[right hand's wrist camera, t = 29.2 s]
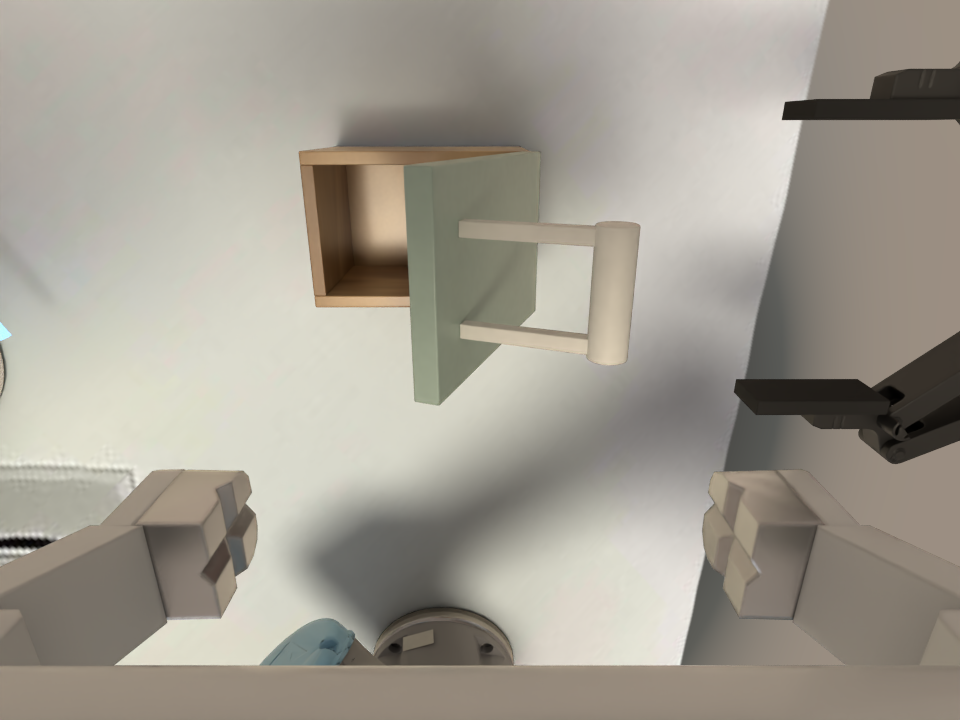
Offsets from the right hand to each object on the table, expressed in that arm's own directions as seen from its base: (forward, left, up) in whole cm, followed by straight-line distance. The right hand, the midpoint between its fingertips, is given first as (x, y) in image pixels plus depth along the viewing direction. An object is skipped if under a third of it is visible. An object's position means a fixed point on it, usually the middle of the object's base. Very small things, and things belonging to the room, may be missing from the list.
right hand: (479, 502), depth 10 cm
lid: (0, 0, -21) cm, 21 cm away
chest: (-2, -3, -39) cm, 39 cm away
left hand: (+8, +11, -19) cm, 23 cm away
